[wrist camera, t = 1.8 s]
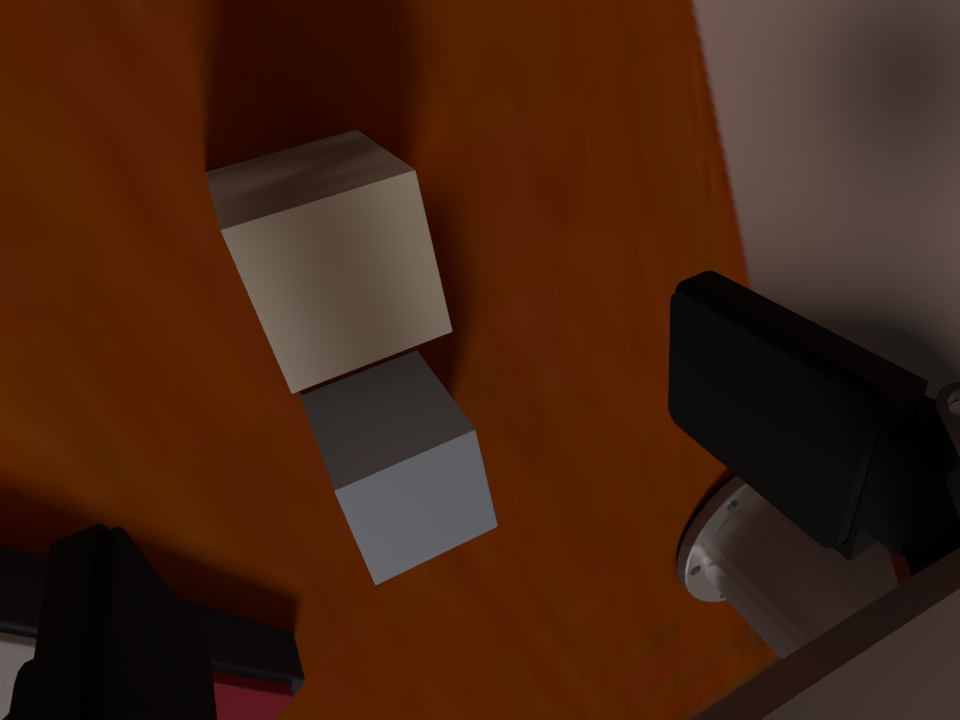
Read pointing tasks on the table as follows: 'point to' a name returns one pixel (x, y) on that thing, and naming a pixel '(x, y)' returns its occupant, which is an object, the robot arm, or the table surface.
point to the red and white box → (232, 640)
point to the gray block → (401, 463)
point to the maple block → (332, 254)
